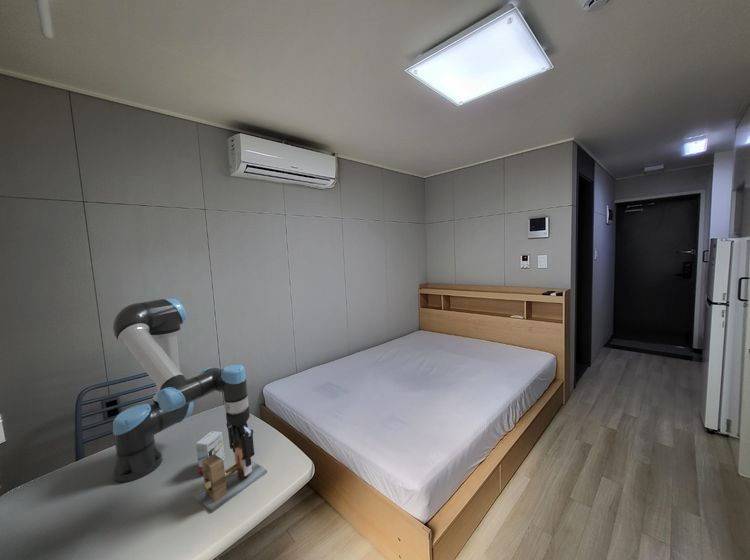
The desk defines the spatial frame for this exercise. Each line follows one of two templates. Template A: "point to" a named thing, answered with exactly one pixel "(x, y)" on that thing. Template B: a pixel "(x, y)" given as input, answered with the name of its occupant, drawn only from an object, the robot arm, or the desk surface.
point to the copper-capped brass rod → (237, 466)
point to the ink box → (210, 447)
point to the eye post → (224, 482)
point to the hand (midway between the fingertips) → (244, 470)
